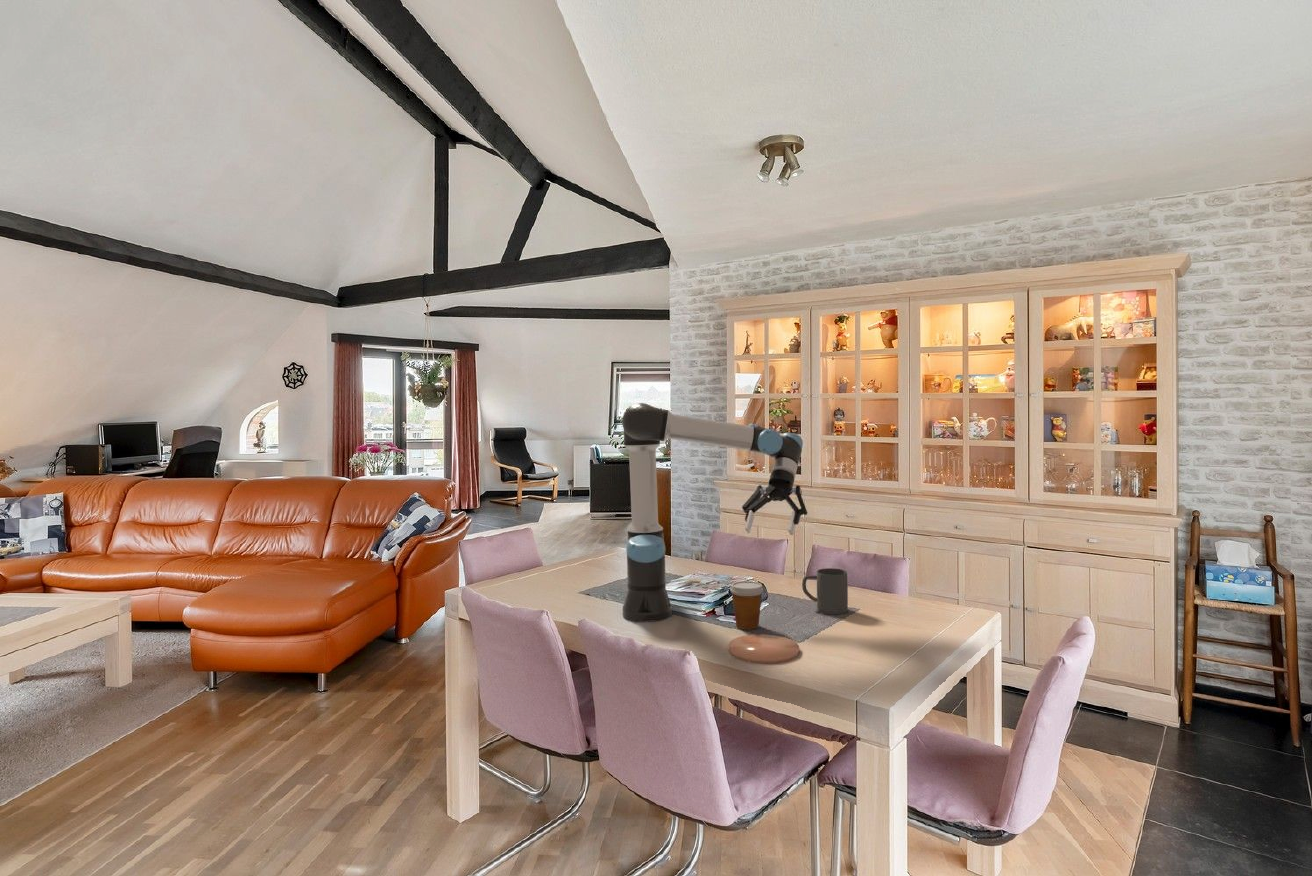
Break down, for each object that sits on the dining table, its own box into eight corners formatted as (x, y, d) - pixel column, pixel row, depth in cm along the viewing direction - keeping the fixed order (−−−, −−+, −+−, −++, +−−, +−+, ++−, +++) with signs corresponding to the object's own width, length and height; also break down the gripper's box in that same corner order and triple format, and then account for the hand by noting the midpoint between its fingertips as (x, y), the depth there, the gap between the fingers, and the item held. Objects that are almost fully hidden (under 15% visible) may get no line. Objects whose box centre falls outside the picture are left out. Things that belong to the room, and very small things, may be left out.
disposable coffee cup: (763, 632, 189) (762, 589, 188) (729, 630, 191) (728, 588, 190) (764, 621, 198) (764, 581, 198) (732, 620, 200) (731, 580, 200)
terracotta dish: (713, 650, 175) (713, 645, 175) (759, 634, 187) (759, 629, 187) (768, 669, 162) (768, 664, 162) (813, 650, 174) (813, 645, 174)
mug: (849, 607, 211) (848, 569, 210) (846, 616, 202) (845, 576, 202) (804, 604, 216) (804, 566, 215) (800, 612, 207) (799, 573, 207)
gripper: (824, 482, 211) (812, 540, 198) (749, 482, 223) (733, 536, 211) (819, 467, 206) (806, 525, 193) (742, 468, 218) (725, 522, 206)
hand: (768, 531), depth 202 cm, fingers open, 13 cm apart
